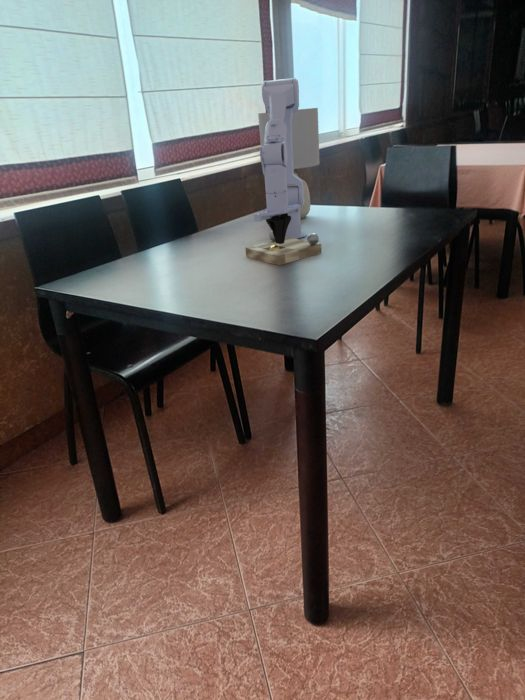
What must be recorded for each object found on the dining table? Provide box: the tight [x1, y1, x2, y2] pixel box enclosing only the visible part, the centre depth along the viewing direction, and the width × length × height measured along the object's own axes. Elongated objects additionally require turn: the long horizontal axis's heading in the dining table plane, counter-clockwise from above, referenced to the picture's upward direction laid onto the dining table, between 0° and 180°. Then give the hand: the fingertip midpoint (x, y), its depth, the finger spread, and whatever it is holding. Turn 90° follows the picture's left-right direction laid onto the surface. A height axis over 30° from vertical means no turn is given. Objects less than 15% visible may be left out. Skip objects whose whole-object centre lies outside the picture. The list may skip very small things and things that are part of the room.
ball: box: [269, 245, 280, 251], centre depth 136 cm, size 3×3×3 cm
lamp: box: [257, 107, 321, 219], centre depth 176 cm, size 20×20×37 cm
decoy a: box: [268, 230, 275, 241], centre depth 142 cm, size 3×3×3 cm
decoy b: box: [306, 232, 320, 245], centre depth 134 cm, size 3×3×3 cm
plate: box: [244, 237, 322, 266], centre depth 137 cm, size 15×15×2 cm
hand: (280, 243), depth 136 cm, fingers closed
